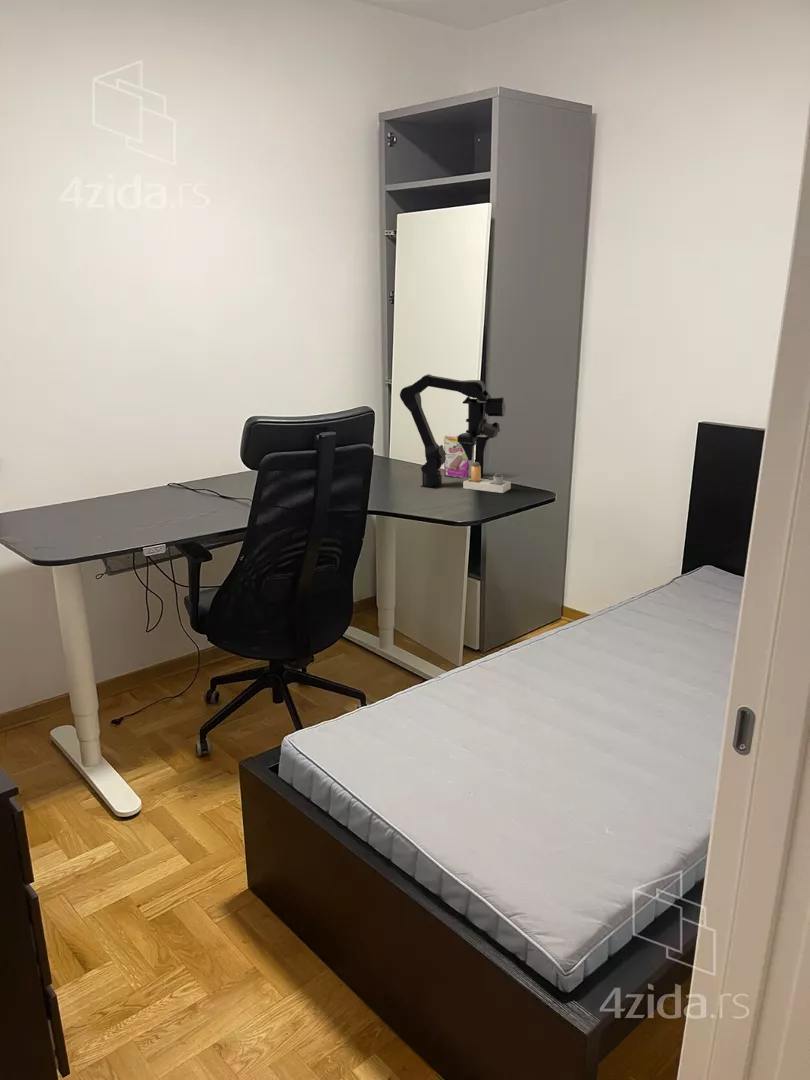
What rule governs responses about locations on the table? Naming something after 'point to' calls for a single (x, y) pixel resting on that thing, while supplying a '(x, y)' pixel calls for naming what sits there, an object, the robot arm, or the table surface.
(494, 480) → the grey plug
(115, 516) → the table surface
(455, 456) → the snack bar box
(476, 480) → the orange cylindrical bottle
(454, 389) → the robot arm
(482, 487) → the white compartment tray
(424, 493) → the table surface
